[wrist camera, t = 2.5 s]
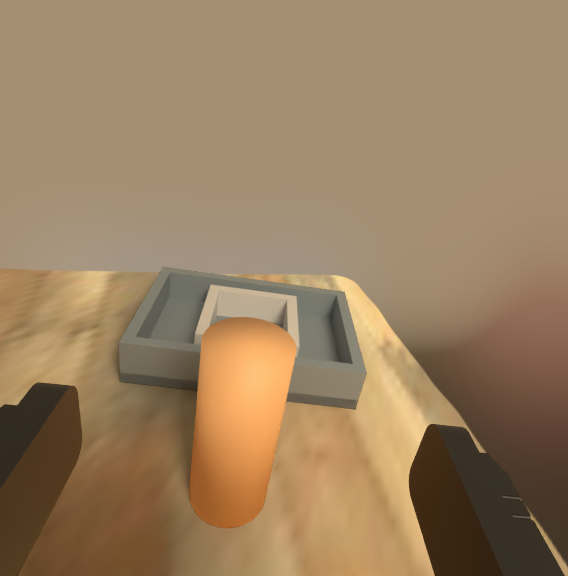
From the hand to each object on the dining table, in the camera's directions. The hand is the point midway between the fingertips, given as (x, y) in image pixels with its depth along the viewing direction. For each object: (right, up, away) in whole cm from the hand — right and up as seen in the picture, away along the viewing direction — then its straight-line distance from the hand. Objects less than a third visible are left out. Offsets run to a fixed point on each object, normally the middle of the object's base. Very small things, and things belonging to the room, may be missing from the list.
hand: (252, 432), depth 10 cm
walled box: (-3, -3, +32) cm, 32 cm away
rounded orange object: (-3, -10, +18) cm, 21 cm away
